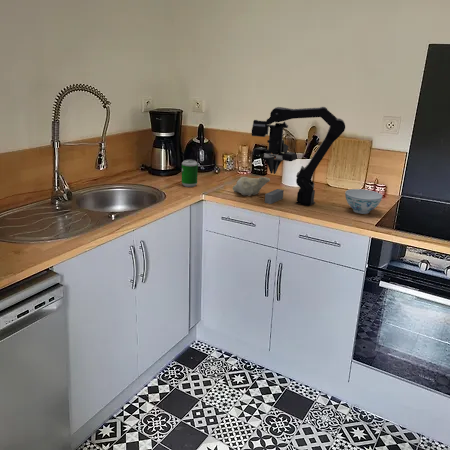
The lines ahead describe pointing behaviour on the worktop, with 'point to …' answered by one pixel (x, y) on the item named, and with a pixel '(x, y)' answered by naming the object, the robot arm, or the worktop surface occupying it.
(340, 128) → the robot arm
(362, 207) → the chinaware
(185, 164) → the soda can
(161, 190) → the worktop surface
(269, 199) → the bar
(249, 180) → the grey lumpy stone
